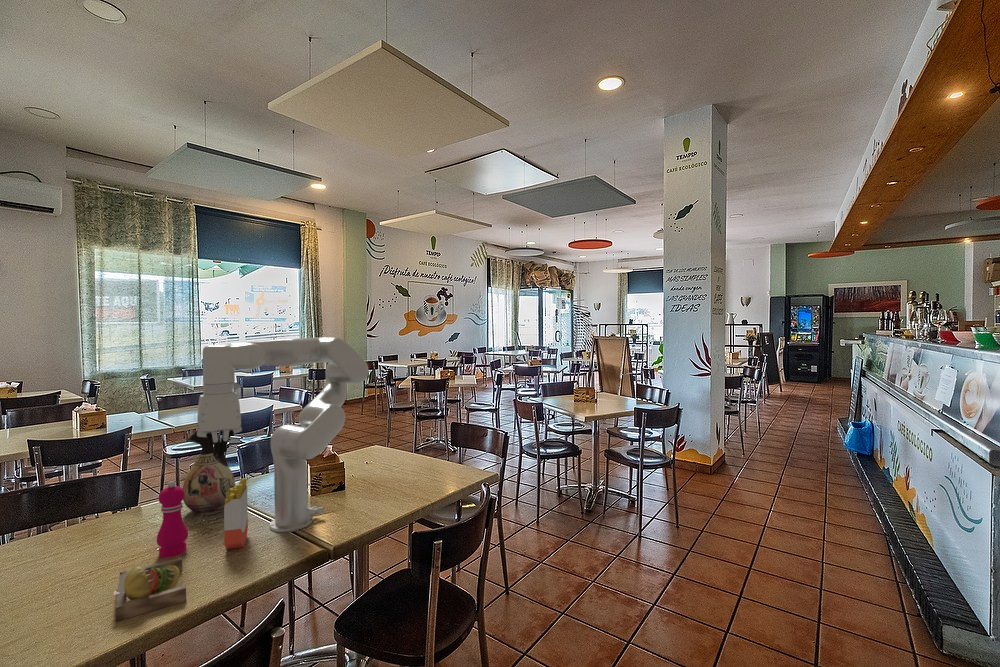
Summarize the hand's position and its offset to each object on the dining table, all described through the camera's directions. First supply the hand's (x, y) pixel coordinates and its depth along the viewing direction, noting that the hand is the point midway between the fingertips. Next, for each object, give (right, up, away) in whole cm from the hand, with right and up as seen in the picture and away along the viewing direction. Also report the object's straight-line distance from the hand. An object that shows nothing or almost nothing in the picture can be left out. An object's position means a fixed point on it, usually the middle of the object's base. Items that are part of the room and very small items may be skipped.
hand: (220, 455), depth 131 cm
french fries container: (+1, -27, +5) cm, 28 cm away
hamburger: (-1, -26, -18) cm, 31 cm away
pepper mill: (-13, -27, 0) cm, 31 cm away
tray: (-4, -28, -19) cm, 34 cm away
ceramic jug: (-20, -27, +29) cm, 44 cm away
